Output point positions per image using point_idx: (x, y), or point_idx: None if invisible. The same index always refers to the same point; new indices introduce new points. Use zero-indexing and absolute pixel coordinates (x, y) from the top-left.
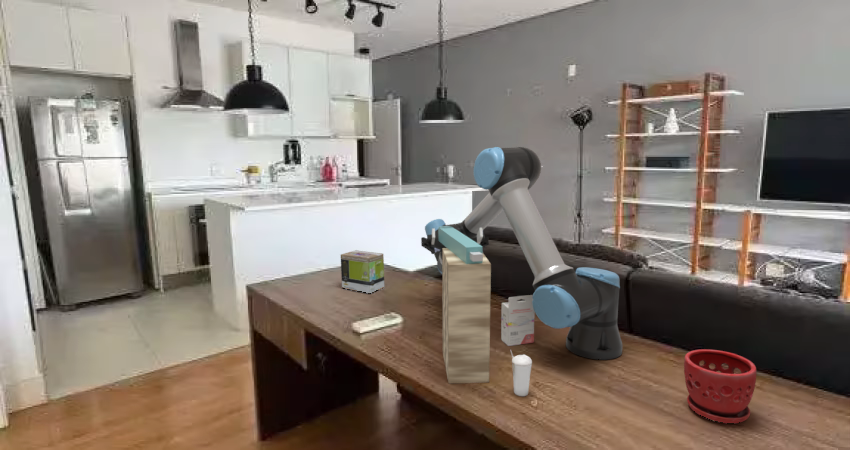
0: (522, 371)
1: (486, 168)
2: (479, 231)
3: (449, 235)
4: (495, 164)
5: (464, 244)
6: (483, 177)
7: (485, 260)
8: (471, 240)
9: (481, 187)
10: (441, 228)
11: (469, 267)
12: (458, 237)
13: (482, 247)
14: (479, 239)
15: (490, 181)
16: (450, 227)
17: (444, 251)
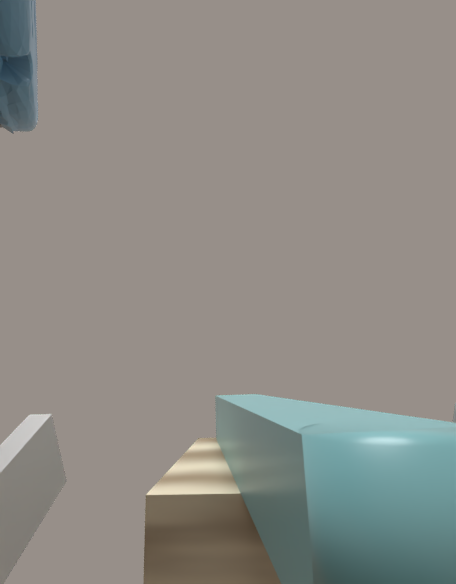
0: None
1: (33, 3)
2: (41, 455)
3: (303, 401)
4: (36, 51)
5: (256, 395)
6: (33, 32)
7: (201, 443)
8: (226, 398)
9: (2, 56)
10: (409, 418)
11: None
12: (265, 399)
13: (215, 397)
14: (18, 553)
15: (36, 111)
16: (317, 427)
17: None
